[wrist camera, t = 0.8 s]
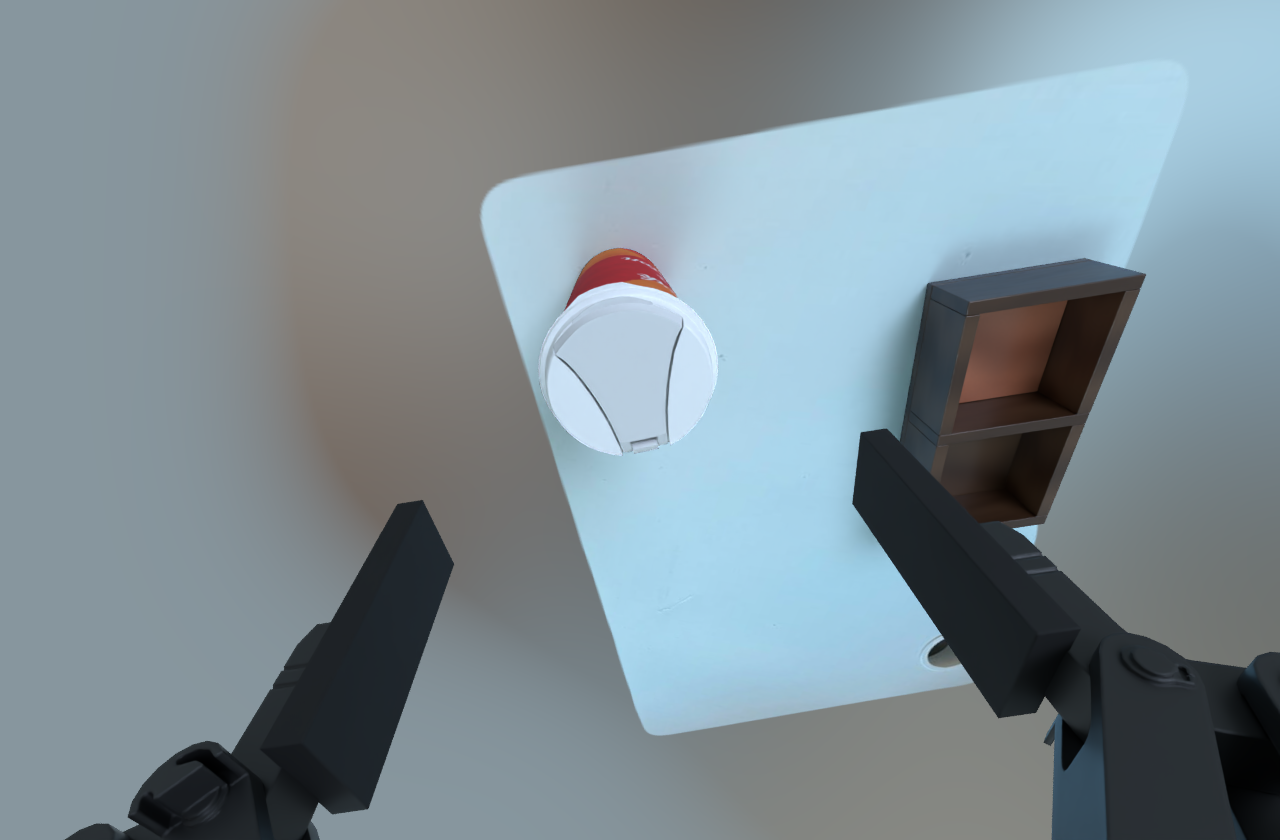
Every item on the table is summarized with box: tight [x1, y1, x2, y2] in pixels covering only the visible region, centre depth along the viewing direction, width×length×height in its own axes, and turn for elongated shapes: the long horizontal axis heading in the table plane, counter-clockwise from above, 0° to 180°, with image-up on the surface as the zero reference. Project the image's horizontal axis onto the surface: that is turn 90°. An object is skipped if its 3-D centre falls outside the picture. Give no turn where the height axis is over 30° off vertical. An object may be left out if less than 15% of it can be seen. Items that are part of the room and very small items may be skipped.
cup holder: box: [900, 258, 1146, 528], centre depth 38 cm, size 22×12×5 cm, turn 7°
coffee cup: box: [538, 248, 718, 456], centre depth 27 cm, size 8×8×15 cm
